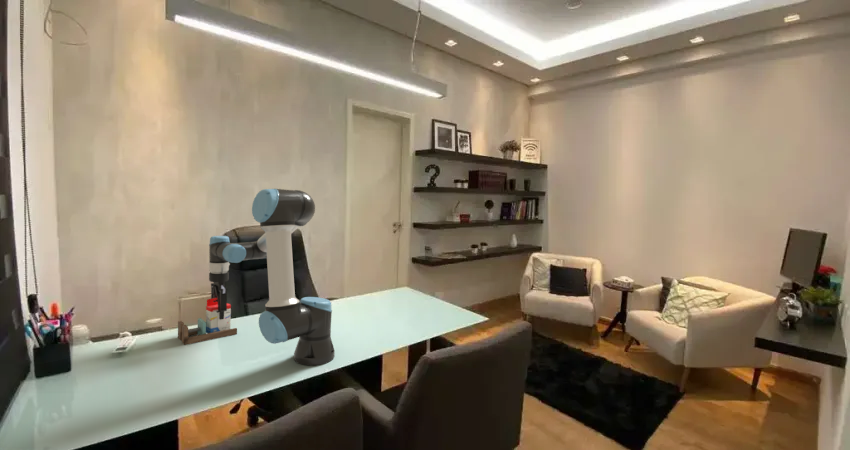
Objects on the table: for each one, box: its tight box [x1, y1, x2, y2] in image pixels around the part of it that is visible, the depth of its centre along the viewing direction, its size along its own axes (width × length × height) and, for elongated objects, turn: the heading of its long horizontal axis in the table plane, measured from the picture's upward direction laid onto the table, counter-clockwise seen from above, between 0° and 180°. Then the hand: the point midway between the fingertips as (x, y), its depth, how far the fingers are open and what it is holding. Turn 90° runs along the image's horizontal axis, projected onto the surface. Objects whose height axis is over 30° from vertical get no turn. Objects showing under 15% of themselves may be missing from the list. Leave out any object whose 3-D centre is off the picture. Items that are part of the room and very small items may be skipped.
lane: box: [177, 320, 238, 346], centre depth 164 cm, size 10×20×7 cm, turn 135°
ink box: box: [205, 298, 232, 334], centre depth 166 cm, size 8×5×15 cm, turn 143°
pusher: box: [188, 317, 207, 335], centre depth 160 cm, size 7×7×7 cm
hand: (218, 324), depth 167 cm, fingers closed on ink box, 5 cm apart
